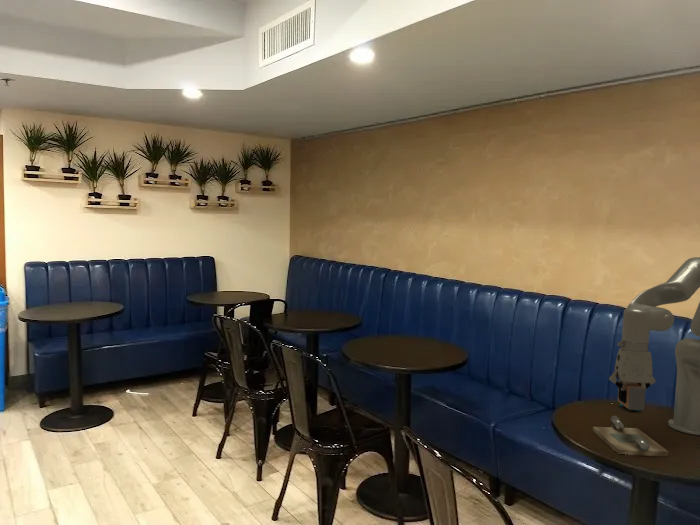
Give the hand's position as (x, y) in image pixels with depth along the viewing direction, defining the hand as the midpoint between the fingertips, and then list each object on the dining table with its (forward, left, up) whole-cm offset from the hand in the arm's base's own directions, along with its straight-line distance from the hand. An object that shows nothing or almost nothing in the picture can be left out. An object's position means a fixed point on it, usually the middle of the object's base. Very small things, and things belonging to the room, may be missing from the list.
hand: (630, 401), depth 168 cm
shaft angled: (0, -8, -12) cm, 14 cm away
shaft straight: (0, +7, -12) cm, 14 cm away
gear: (-17, -33, -14) cm, 40 cm away
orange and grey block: (0, 0, -1) cm, 1 cm away
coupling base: (0, 0, -14) cm, 14 cm away
